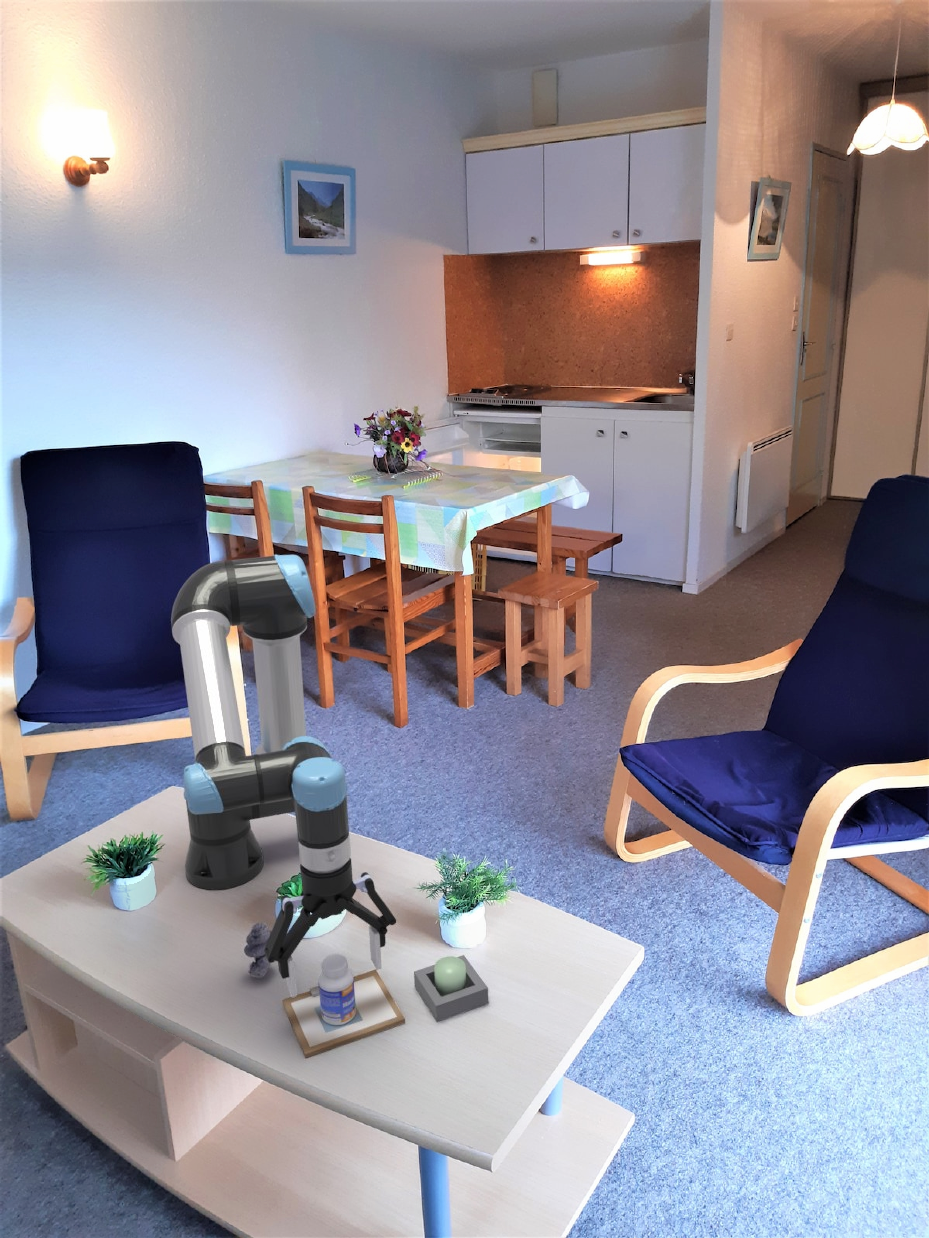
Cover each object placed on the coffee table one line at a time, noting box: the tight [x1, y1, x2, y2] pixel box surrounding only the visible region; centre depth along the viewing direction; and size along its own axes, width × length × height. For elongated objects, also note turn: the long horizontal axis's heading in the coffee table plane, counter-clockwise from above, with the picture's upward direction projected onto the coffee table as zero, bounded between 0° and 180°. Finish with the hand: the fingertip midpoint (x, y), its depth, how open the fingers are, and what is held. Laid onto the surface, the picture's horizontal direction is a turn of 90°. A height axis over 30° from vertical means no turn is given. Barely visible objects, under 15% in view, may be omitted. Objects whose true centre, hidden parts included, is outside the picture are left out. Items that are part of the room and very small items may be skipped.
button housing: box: [413, 954, 489, 1022], centre depth 153 cm, size 9×9×3 cm
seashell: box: [243, 922, 272, 980], centre depth 158 cm, size 5×5×10 cm
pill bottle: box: [317, 953, 356, 1025], centre depth 147 cm, size 5×5×10 cm
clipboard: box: [282, 968, 406, 1059], centre depth 150 cm, size 13×16×2 cm
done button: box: [434, 956, 467, 997], centre depth 153 cm, size 5×5×4 cm
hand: (334, 977), depth 147 cm, fingers open, 13 cm apart
